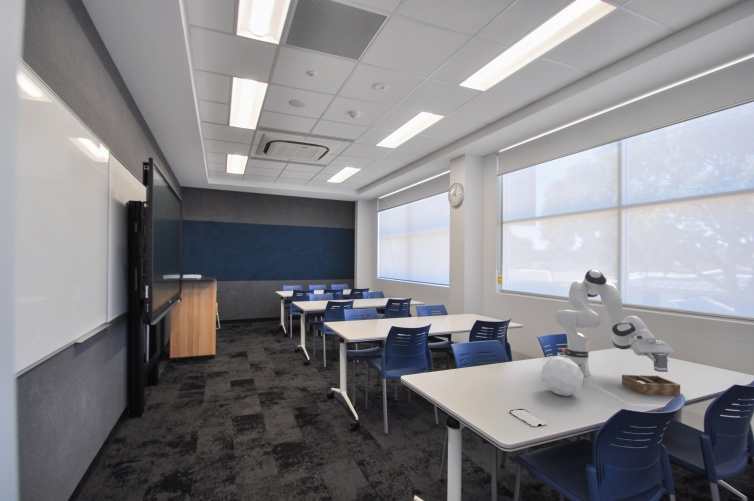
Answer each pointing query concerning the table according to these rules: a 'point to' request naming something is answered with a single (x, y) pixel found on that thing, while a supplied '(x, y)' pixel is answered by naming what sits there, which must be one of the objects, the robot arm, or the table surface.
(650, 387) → the parts box
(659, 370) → the connector
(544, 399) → the table surface
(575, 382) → the geometric polyhedron
